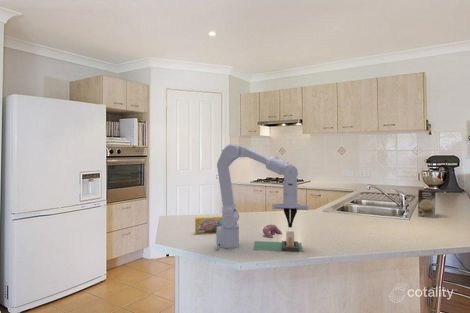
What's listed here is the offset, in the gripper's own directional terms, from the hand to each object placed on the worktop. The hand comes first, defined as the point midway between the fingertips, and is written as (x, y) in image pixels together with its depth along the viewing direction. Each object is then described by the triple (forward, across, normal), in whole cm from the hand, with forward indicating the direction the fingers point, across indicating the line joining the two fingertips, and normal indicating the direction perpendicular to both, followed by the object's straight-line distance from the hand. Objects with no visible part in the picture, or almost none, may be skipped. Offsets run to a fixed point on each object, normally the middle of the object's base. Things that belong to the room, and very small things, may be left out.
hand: (290, 226), depth 127 cm
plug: (+9, 0, 0) cm, 9 cm away
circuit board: (+10, -5, +2) cm, 11 cm away
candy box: (+10, -38, +21) cm, 45 cm away
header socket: (+10, 0, 0) cm, 10 cm away
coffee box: (+10, +85, +76) cm, 115 cm away
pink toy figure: (+10, -8, +18) cm, 22 cm away
